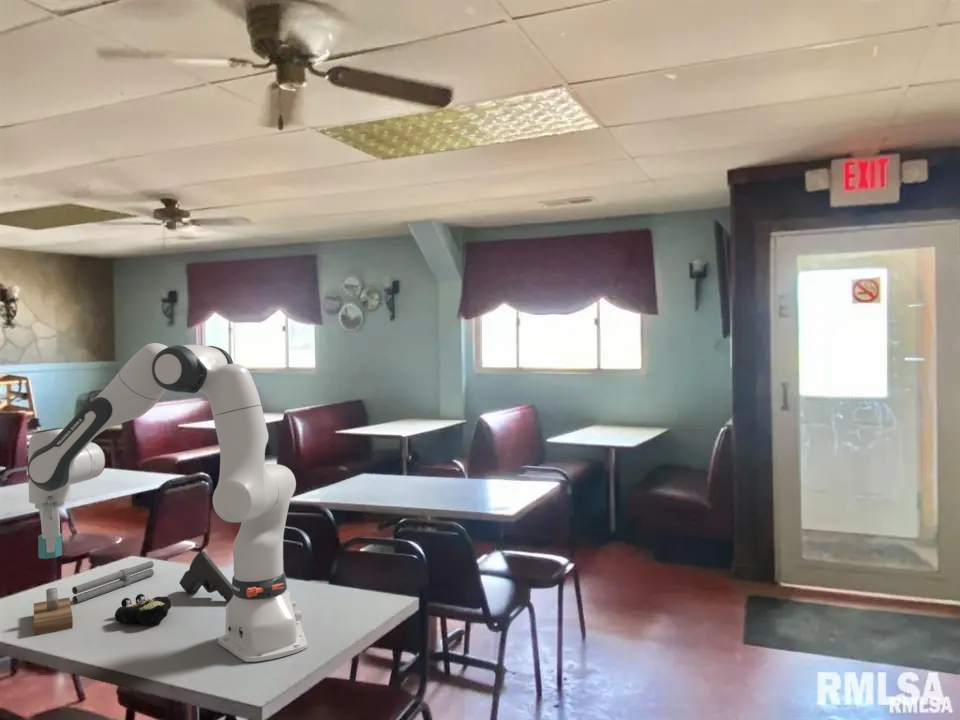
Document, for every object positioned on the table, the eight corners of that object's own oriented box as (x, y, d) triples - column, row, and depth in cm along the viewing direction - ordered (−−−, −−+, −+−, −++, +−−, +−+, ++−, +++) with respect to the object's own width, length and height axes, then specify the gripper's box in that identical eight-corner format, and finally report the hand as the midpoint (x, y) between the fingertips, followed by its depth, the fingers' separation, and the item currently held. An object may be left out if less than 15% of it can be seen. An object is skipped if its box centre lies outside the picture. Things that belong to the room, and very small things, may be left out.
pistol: (224, 626, 198) (242, 591, 194) (213, 630, 195) (231, 595, 191) (187, 580, 206) (204, 546, 202) (177, 583, 203) (193, 549, 199)
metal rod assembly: (78, 605, 195) (78, 586, 195) (71, 604, 196) (70, 585, 196) (156, 576, 219) (155, 559, 219) (149, 575, 220) (149, 558, 220)
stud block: (72, 627, 178) (71, 595, 178) (34, 635, 174) (33, 601, 174) (69, 608, 192) (68, 578, 192) (33, 615, 188) (32, 584, 188)
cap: (62, 556, 182) (61, 536, 182) (38, 559, 179) (38, 538, 179) (61, 551, 186) (61, 531, 186) (38, 554, 183) (38, 534, 183)
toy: (154, 589, 193) (181, 584, 183) (159, 619, 192) (186, 615, 182) (105, 603, 183) (130, 598, 174) (109, 634, 182) (135, 631, 173)
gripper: (65, 499, 175) (66, 557, 175) (62, 485, 192) (63, 537, 193) (35, 502, 172) (35, 561, 172) (34, 487, 189) (35, 541, 189)
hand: (50, 548), depth 183 cm, fingers closed on cap, 5 cm apart
